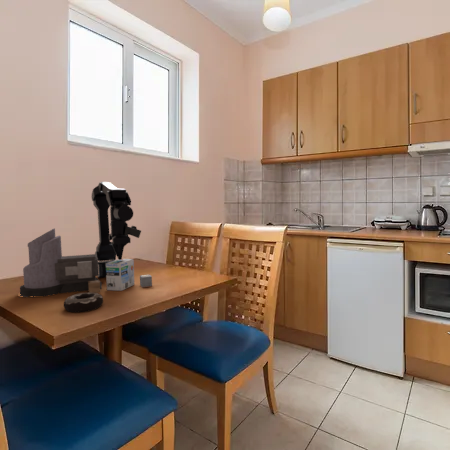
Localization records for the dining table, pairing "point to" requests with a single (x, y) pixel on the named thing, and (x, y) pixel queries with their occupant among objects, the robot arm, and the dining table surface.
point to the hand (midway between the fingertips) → (120, 259)
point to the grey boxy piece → (56, 268)
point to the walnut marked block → (94, 286)
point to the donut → (83, 302)
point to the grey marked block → (145, 280)
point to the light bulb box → (120, 274)
